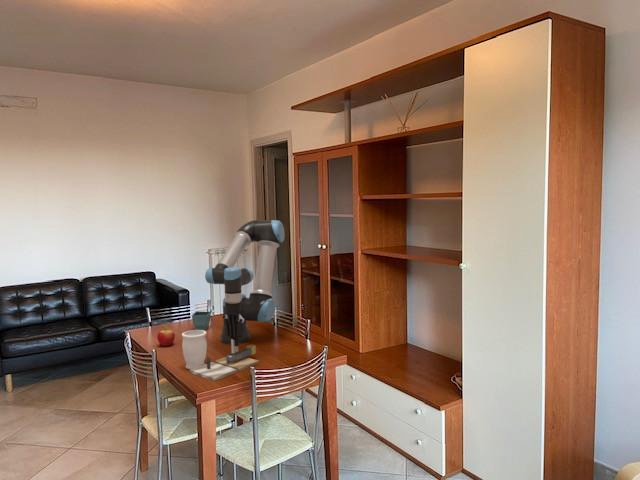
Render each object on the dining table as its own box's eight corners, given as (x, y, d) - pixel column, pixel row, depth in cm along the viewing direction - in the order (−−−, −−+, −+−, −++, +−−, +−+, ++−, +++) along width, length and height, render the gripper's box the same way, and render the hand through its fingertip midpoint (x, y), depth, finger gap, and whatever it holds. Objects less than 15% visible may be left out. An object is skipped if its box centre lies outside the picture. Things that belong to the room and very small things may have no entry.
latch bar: (230, 362, 207) (230, 354, 207) (224, 361, 210) (223, 353, 209) (256, 353, 219) (256, 345, 219) (250, 351, 222) (249, 344, 221)
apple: (154, 345, 241) (153, 326, 240) (169, 341, 247) (169, 322, 246) (162, 349, 235) (162, 329, 234) (178, 345, 241) (177, 325, 240)
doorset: (189, 372, 203) (189, 358, 202) (234, 356, 222) (234, 343, 222) (214, 381, 193) (214, 366, 192) (259, 363, 213) (259, 350, 212)
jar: (185, 362, 215) (184, 329, 214) (209, 361, 216) (208, 329, 215) (180, 371, 204) (179, 336, 203) (205, 370, 205) (204, 335, 204)
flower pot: (207, 331, 266) (207, 315, 265) (192, 331, 266) (191, 315, 265) (211, 326, 275) (211, 311, 274) (196, 326, 275) (195, 311, 274)
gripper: (217, 301, 218) (219, 352, 220) (236, 305, 210) (238, 357, 212) (230, 298, 224) (231, 347, 226) (249, 302, 216) (250, 353, 218)
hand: (234, 352), depth 219 cm, fingers closed
